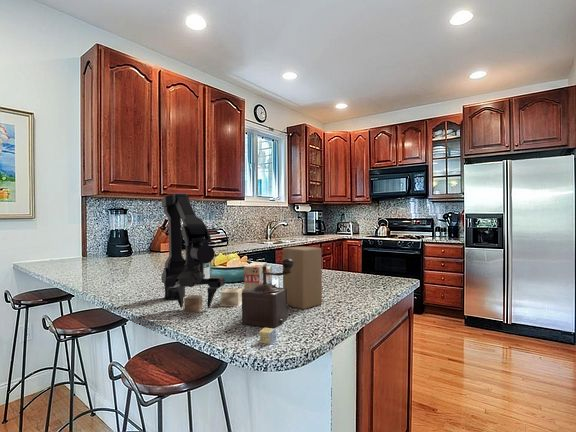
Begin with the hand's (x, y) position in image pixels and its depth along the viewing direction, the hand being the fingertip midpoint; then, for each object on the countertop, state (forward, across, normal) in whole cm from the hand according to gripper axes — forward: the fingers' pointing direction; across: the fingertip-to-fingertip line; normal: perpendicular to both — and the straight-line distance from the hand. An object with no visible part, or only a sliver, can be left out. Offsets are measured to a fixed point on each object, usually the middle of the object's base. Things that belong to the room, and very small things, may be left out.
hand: (195, 307), depth 111 cm
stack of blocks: (+2, +16, +30) cm, 34 cm away
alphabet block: (+2, +28, -25) cm, 38 cm away
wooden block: (+2, +35, +11) cm, 37 cm away
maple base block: (+1, +10, +10) cm, 14 cm away
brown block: (+1, 0, 0) cm, 1 cm away
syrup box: (+2, -14, +47) cm, 49 cm away
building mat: (+1, +8, +8) cm, 12 cm away
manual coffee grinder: (+2, +26, -7) cm, 27 cm away
